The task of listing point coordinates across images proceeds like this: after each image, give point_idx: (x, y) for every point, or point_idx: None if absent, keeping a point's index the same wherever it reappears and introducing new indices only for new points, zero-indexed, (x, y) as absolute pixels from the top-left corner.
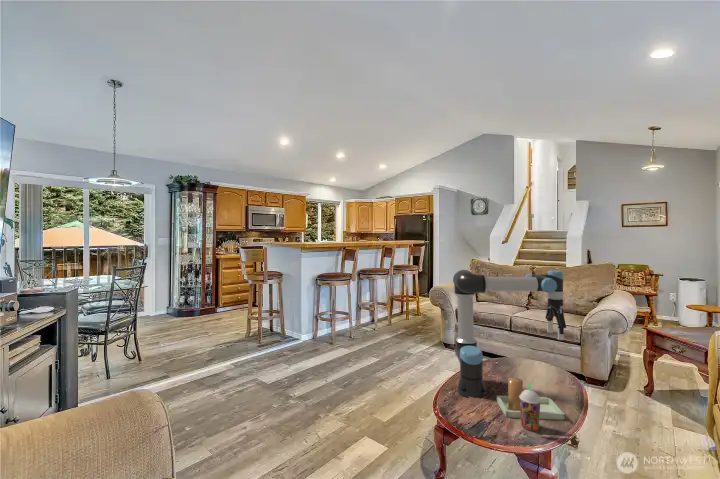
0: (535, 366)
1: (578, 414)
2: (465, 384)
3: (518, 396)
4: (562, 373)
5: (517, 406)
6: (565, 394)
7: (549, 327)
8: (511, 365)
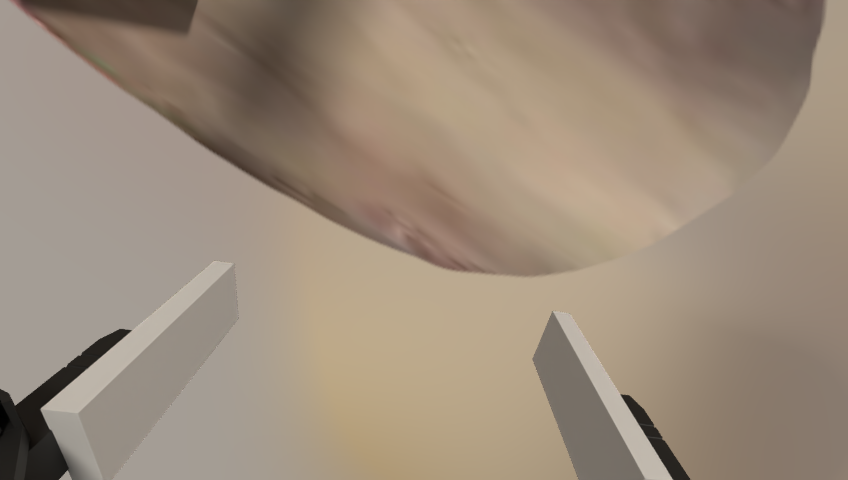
0: (630, 195)
1: (129, 89)
2: None
3: None
4: (524, 268)
5: None
6: (318, 152)
7: (572, 383)
8: (693, 61)
